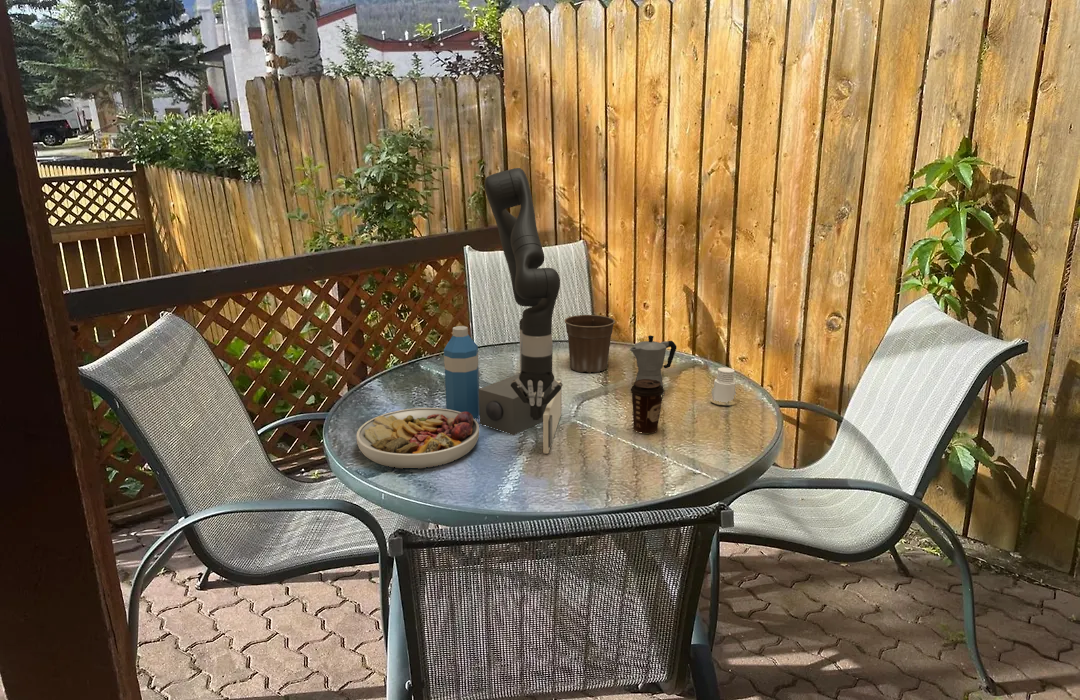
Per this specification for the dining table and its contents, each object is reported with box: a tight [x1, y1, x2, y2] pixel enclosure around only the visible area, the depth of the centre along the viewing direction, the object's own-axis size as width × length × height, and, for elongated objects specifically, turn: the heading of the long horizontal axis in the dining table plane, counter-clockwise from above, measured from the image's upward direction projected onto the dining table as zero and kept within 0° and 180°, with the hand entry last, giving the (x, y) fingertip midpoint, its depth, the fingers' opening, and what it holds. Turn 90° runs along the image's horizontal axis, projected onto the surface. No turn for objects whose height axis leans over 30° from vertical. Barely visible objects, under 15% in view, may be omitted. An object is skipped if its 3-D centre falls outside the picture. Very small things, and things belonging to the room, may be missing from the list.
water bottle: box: [443, 325, 480, 420], centre depth 207 cm, size 9×9×25 cm
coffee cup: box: [630, 379, 665, 434], centre depth 199 cm, size 9×8×13 cm
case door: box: [542, 378, 563, 454], centre depth 197 cm, size 27×2×10 cm, turn 172°
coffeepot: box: [629, 335, 677, 395], centre depth 224 cm, size 15×9×18 cm, turn 113°
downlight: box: [711, 367, 737, 402], centre depth 218 cm, size 8×7×10 cm
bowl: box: [356, 407, 480, 469], centre depth 190 cm, size 30×30×8 cm
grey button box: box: [479, 372, 552, 436], centre depth 206 cm, size 19×12×11 cm, turn 141°
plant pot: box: [564, 314, 616, 374], centre depth 249 cm, size 16×16×16 cm
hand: (536, 419), depth 188 cm, fingers closed
